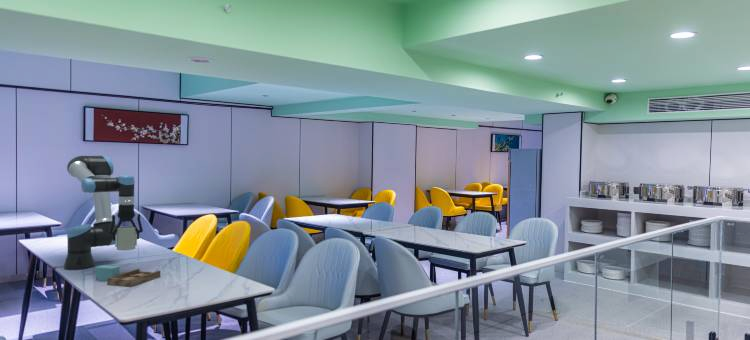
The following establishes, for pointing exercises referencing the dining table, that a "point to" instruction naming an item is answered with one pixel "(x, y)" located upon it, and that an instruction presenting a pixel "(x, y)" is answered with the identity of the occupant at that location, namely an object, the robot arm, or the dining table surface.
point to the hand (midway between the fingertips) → (126, 245)
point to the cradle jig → (132, 278)
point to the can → (126, 238)
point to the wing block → (106, 272)
